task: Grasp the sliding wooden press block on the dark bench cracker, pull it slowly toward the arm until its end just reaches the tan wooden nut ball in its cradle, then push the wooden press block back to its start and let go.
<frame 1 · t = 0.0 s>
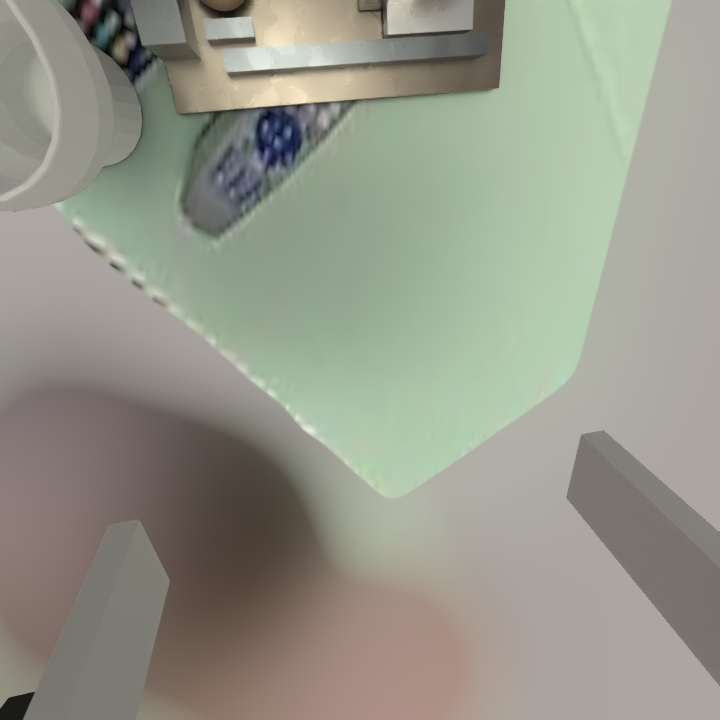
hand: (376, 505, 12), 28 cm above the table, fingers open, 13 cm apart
cup: (83, 106, 29), on the table
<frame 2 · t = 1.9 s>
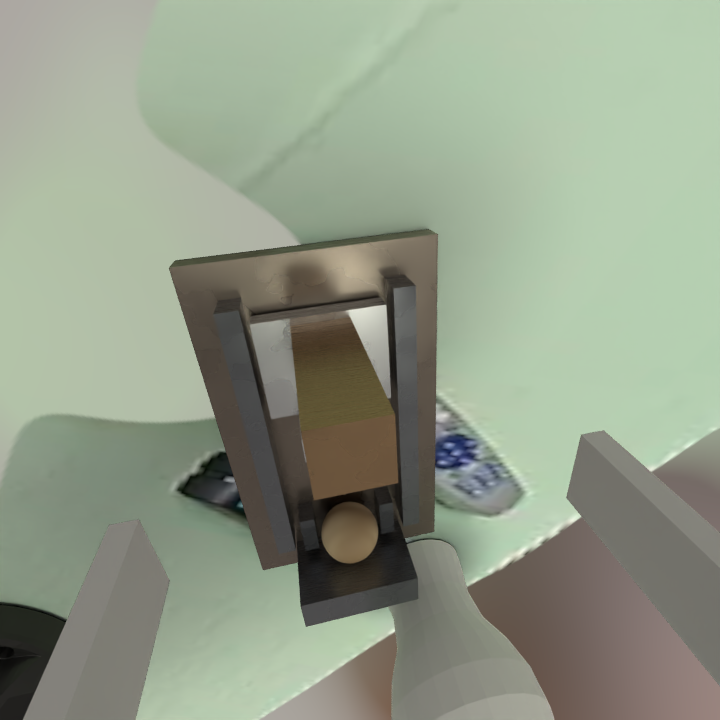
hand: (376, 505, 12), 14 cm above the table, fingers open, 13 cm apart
press base: (331, 419, 28), on the table
cup: (417, 565, 38), on the table
nut: (345, 509, 30), point 1 cm above the table, touching press base
wooden press block: (337, 416, 20), point 7 cm above the table, slide at 0.0 cm
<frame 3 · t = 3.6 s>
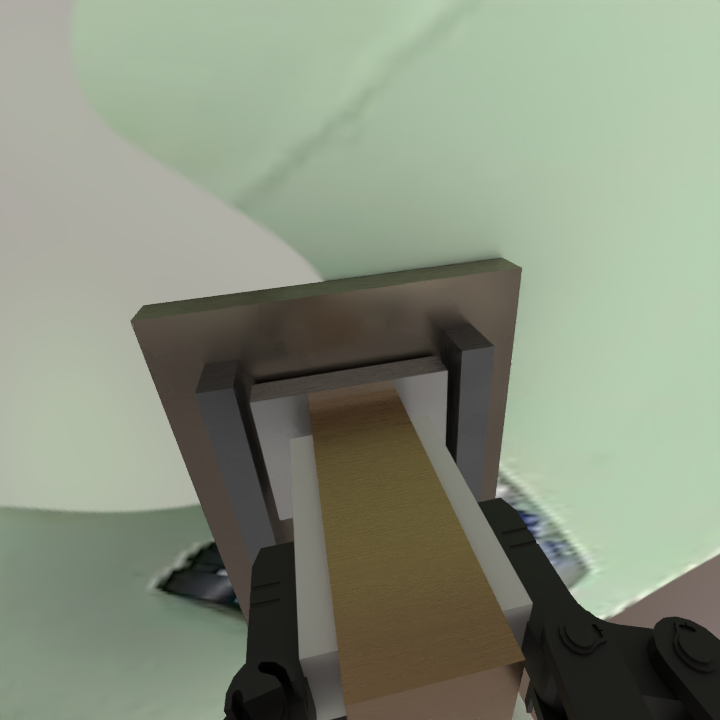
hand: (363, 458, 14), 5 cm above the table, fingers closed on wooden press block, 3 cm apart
press base: (357, 499, 21), on the table
wooden press block: (381, 549, 13), point 7 cm above the table, slide at 0.0 cm, touching gripper
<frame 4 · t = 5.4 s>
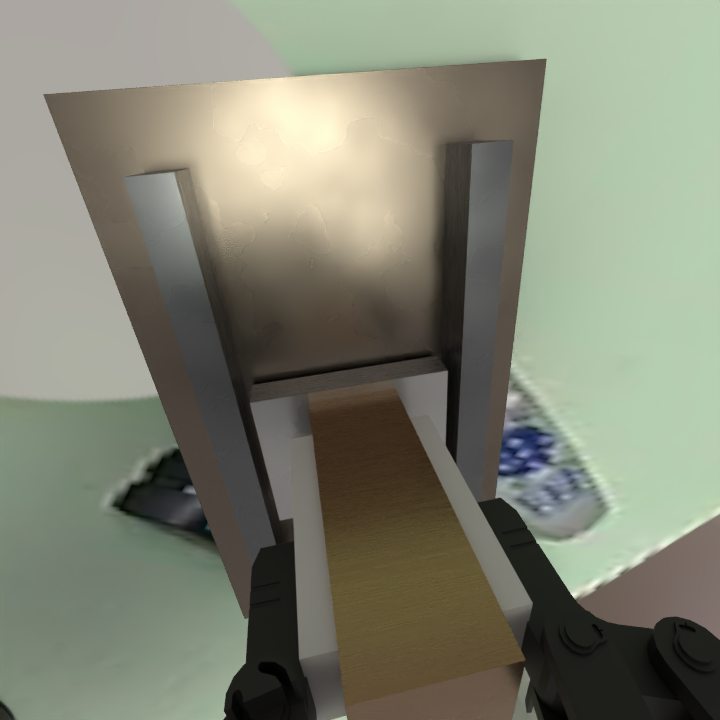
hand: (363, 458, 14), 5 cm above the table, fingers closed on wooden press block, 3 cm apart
press base: (346, 400, 18), on the table
cup: (455, 603, 28), on the table
wooden press block: (381, 549, 13), point 7 cm above the table, slide at 6.4 cm, touching gripper
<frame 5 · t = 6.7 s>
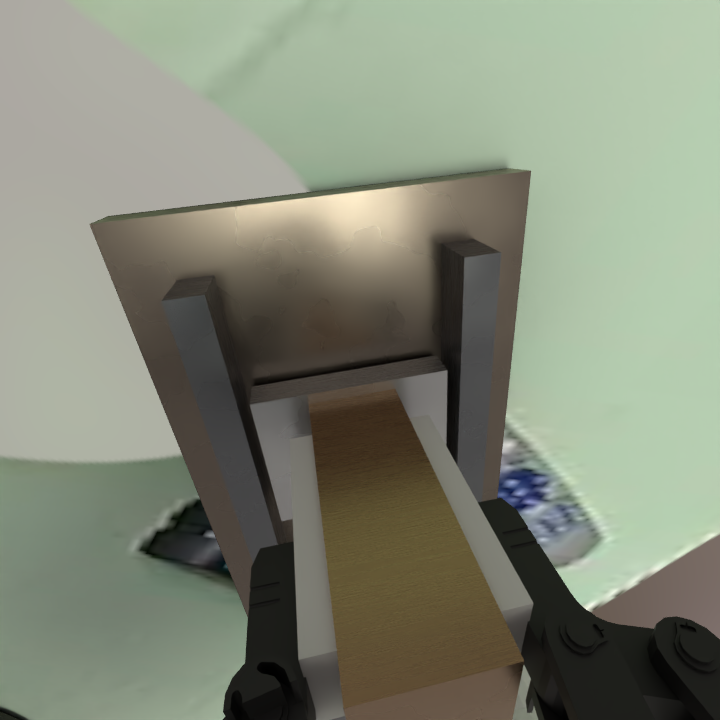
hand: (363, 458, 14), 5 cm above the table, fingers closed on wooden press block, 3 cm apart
press base: (353, 452, 20), on the table
cup: (458, 626, 30), on the table
wooden press block: (382, 550, 13), point 7 cm above the table, slide at 3.2 cm, touching gripper
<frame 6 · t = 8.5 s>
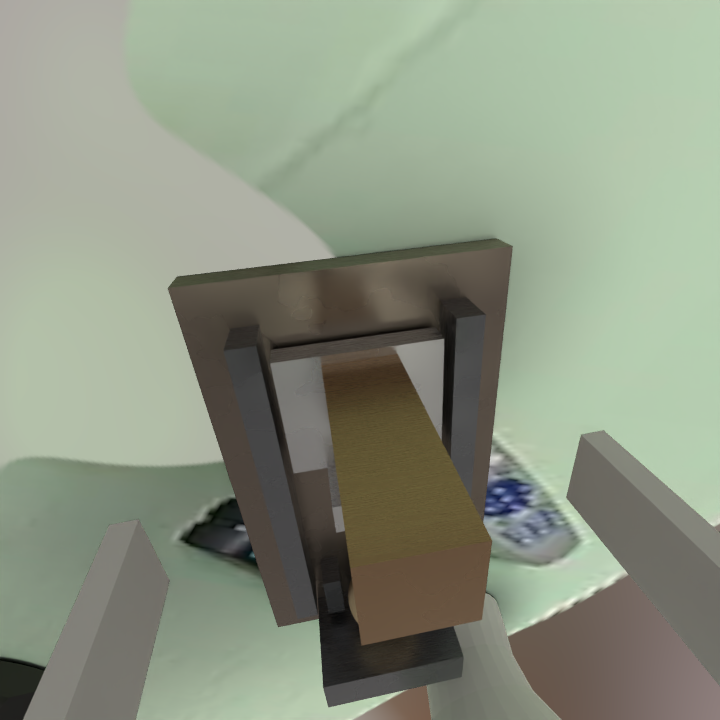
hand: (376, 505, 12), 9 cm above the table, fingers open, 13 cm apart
press base: (363, 462, 23), on the table
cup: (451, 615, 33), on the table
wooden press block: (383, 489, 15), point 7 cm above the table, slide at 0.1 cm
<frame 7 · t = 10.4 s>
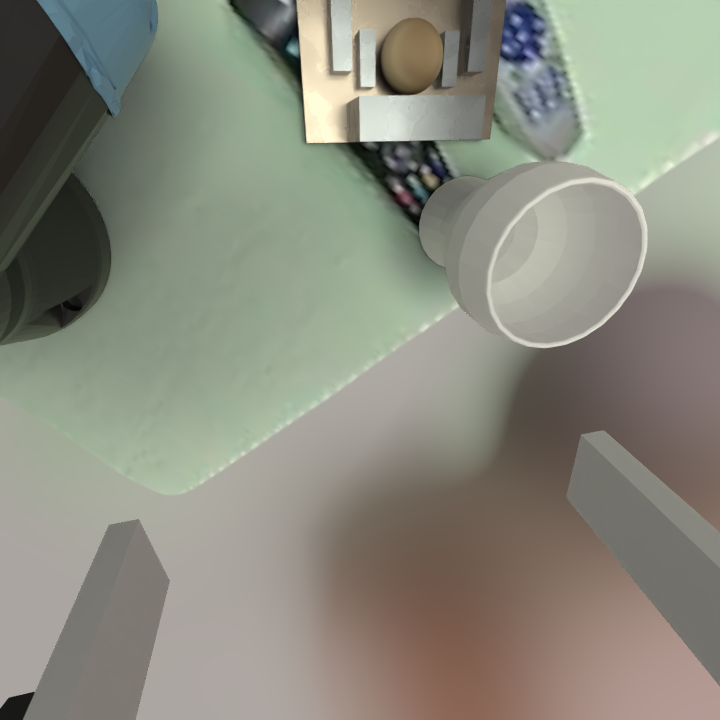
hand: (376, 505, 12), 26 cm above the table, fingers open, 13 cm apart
cup: (460, 224, 35), on the table
nut: (403, 63, 28), point 1 cm above the table, touching press base
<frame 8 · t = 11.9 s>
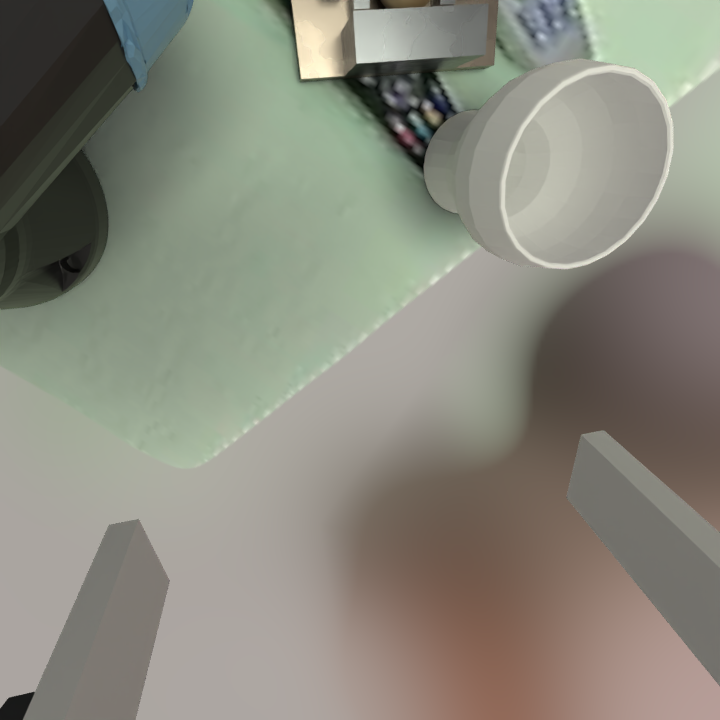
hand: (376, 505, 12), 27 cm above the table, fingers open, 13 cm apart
cup: (466, 164, 34), on the table
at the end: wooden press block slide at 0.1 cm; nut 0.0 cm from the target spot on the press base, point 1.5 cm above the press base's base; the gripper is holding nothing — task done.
